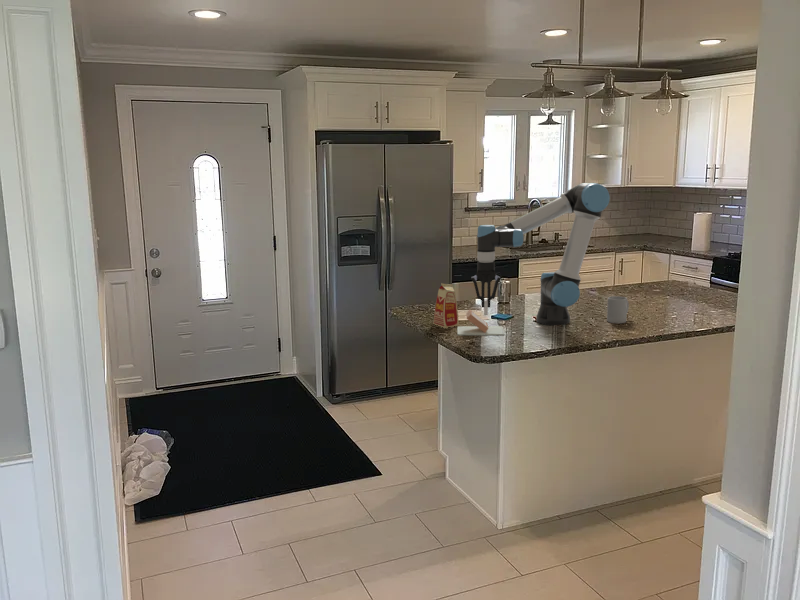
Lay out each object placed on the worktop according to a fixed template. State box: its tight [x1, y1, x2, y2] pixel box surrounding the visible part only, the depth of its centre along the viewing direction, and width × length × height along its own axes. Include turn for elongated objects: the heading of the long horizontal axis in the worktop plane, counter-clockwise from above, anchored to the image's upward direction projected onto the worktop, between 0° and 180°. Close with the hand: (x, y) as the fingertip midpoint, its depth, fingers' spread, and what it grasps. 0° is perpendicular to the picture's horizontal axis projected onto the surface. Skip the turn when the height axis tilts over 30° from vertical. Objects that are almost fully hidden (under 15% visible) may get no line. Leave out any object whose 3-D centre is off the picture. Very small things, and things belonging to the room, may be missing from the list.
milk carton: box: [432, 282, 460, 329], centre depth 310 cm, size 9×9×20 cm
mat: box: [456, 325, 505, 336], centre depth 299 cm, size 20×14×1 cm
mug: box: [606, 295, 630, 324], centre depth 311 cm, size 12×8×11 cm
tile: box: [465, 309, 489, 333], centre depth 298 cm, size 2×10×10 cm
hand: (485, 314), depth 297 cm, fingers closed
